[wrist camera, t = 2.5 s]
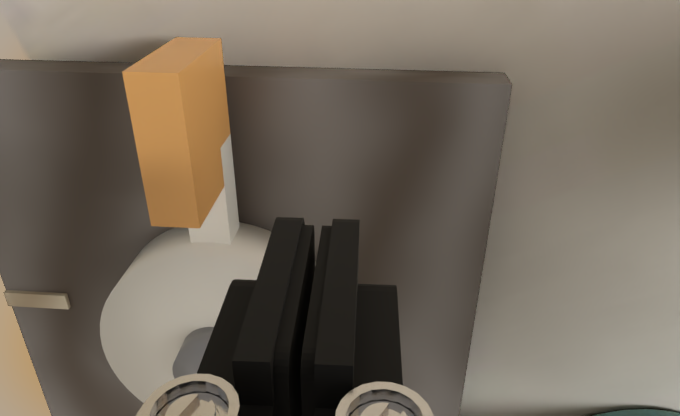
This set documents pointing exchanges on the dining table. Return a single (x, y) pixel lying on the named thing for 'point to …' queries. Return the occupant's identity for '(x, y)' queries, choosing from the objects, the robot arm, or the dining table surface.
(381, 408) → the robot arm
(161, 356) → the white handled round piece
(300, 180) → the dial board
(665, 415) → the flower pot
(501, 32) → the dining table surface
